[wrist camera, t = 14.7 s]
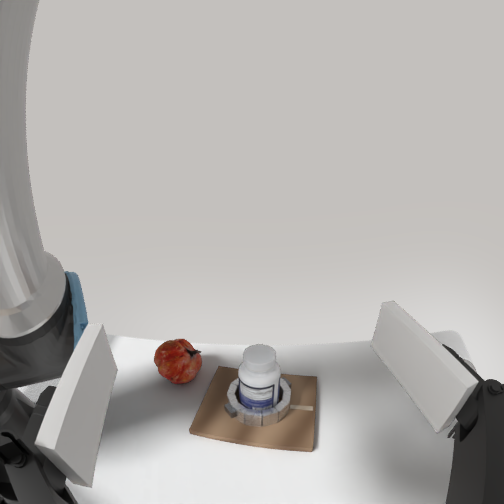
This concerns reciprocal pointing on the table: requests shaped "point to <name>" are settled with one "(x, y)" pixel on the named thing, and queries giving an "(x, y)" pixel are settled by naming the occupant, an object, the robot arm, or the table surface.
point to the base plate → (273, 436)
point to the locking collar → (258, 416)
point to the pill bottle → (259, 378)
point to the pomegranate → (178, 361)
